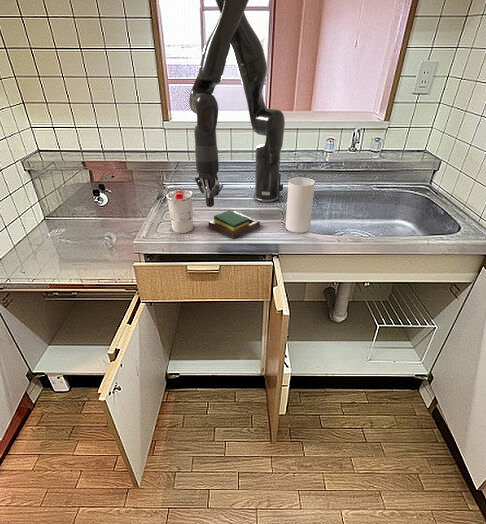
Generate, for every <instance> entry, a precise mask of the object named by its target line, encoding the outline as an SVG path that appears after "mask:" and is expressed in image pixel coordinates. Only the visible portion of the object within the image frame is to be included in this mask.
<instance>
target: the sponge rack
mask: <svg viewBox="0 0 486 524" xmlns="http://www.w3.org/2000/svg"><path fill="white" fill-rule="evenodd" d="M233 212H234V213H237V214H239V215H241V216H244V217H246V218H248V219H249V224H248V225H246V226H244V227H241V228H239V229H237V230H235V231H232V230H230V229H228V228H226V227H223V226H221V225H219V224H217V223H215V222H214V220H213V221H212V220H209V221H208V223H207V224H208V228H209V229H212V230H214V231H216V232H218V233H219V234H222V235H224V236H227V237H228V238H230V239H232V240H235V239H236V238H239V237H241V236H243V235H245V234H247V233H250V232H251V231H254V230H256V229H259V228H261V221H260V220H258V219H255V218H253V217H250V216H248V215H246V214H243V213H240V212H238V211H236V210H234V211H233Z"/></svg>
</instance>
